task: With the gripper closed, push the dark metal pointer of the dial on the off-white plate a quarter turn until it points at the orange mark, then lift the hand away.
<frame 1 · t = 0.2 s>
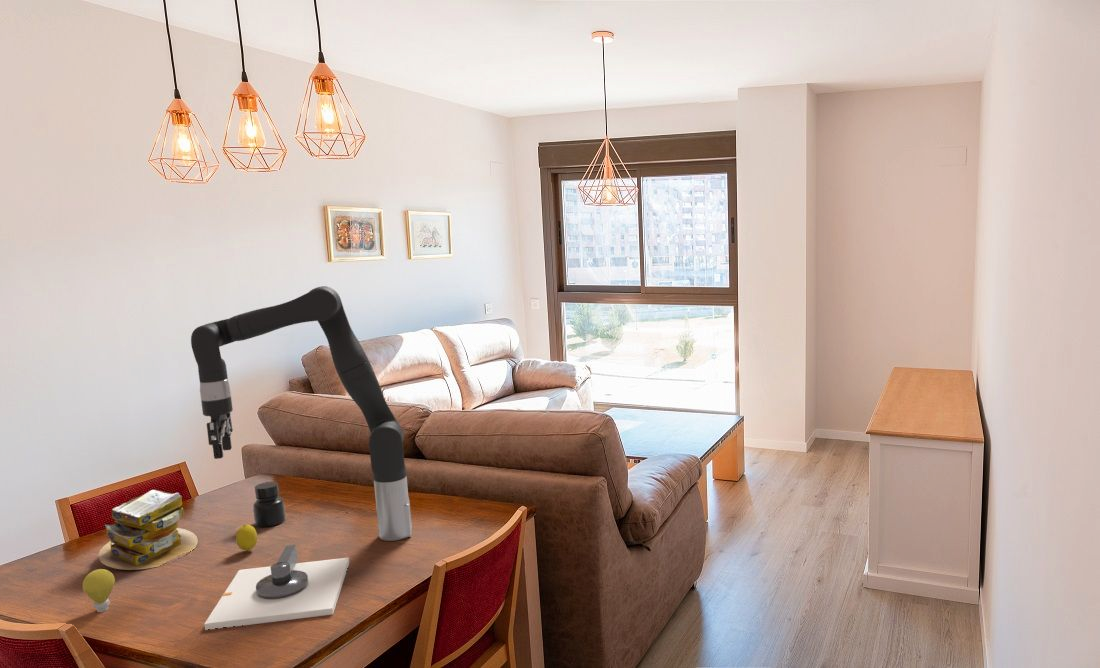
hand: (223, 453, 205), 29 cm above the table, tool pointing down, fingers open, 8 cm apart
light bulb: (102, 610, 179), on the table
dial plate: (283, 593, 182), on the table
stack of boxes: (150, 554, 212), on the table
dial: (284, 570, 184), point 4 cm above the table, hinge at 0.0°
ink bottle: (270, 522, 231), on the table
lemon: (248, 552, 209), on the table
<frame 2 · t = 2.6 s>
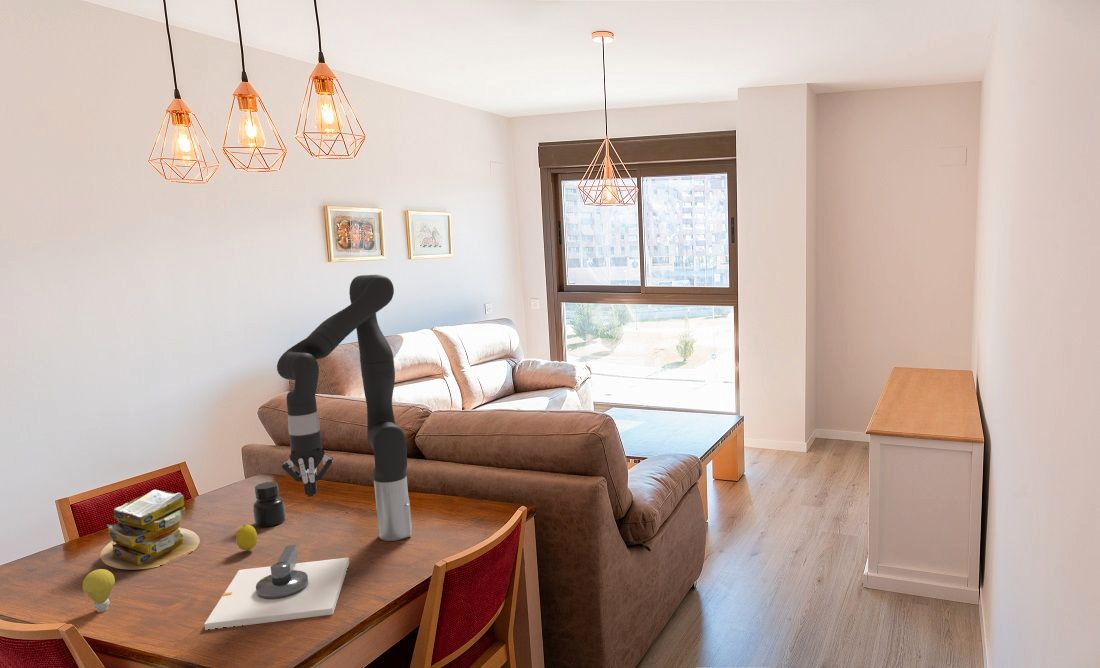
hand: (311, 495, 190), 21 cm above the table, tool pointing down, fingers closed
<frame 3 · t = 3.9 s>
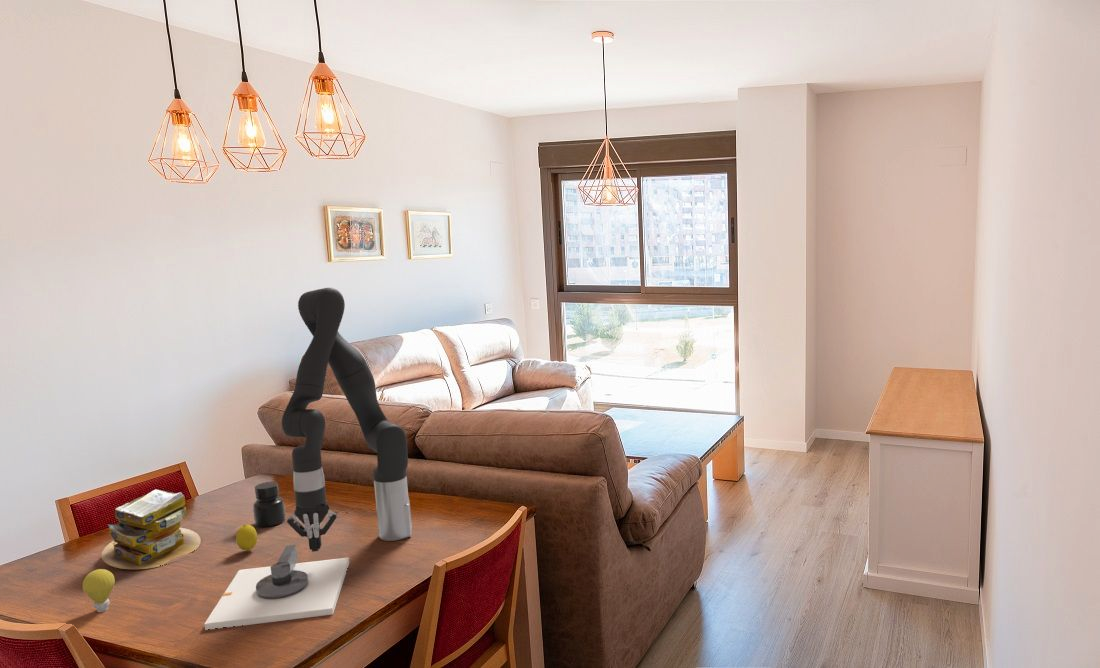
hand: (315, 550, 192), 6 cm above the table, tool pointing down, fingers closed
nothing on the table moved.
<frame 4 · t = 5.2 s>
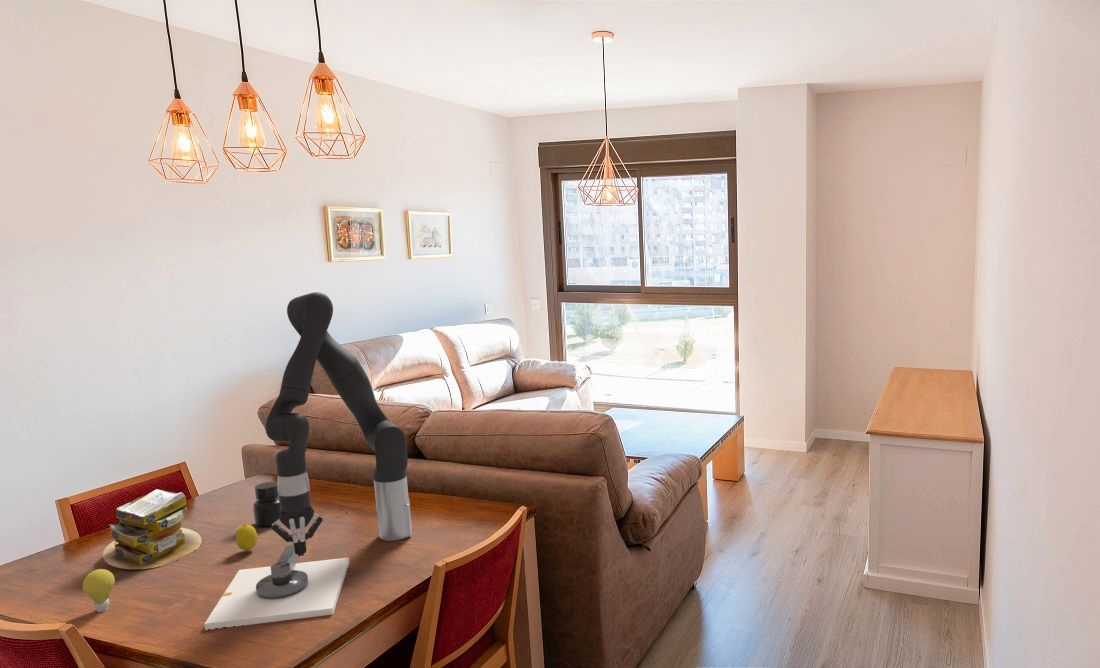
hand: (300, 554, 190), 6 cm above the table, tool pointing down, fingers closed
dial: (284, 570, 184), point 4 cm above the table, hinge at 0.0°, touching gripper
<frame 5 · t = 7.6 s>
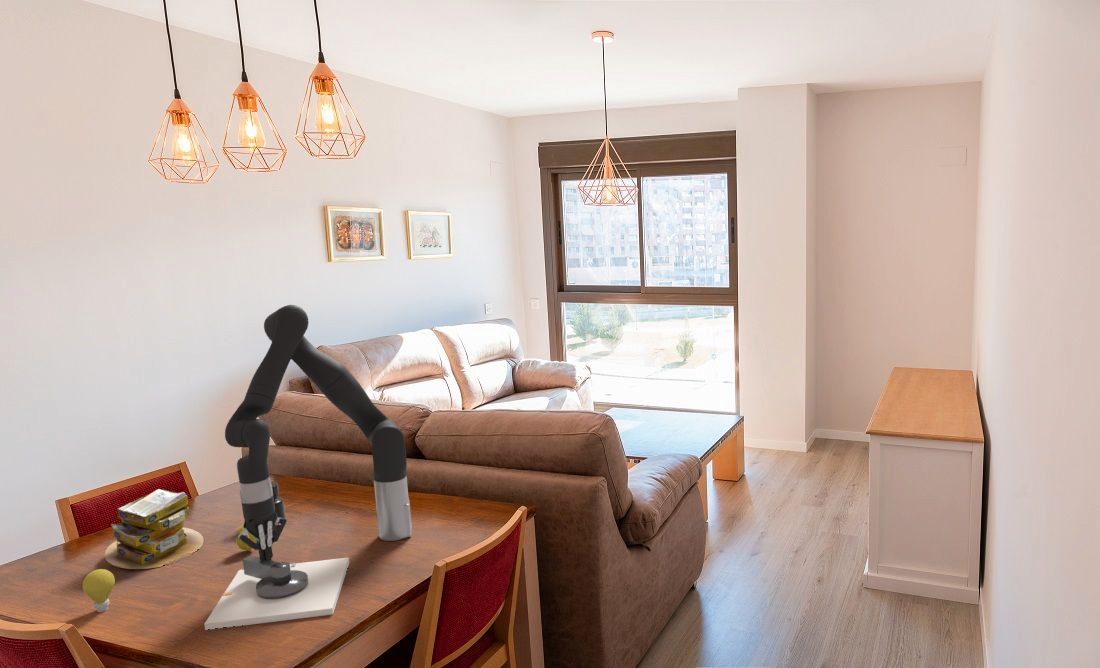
hand: (266, 560, 188), 6 cm above the table, tool pointing down, fingers closed
dial: (272, 574, 183), point 4 cm above the table, hinge at 52.0°, touching gripper
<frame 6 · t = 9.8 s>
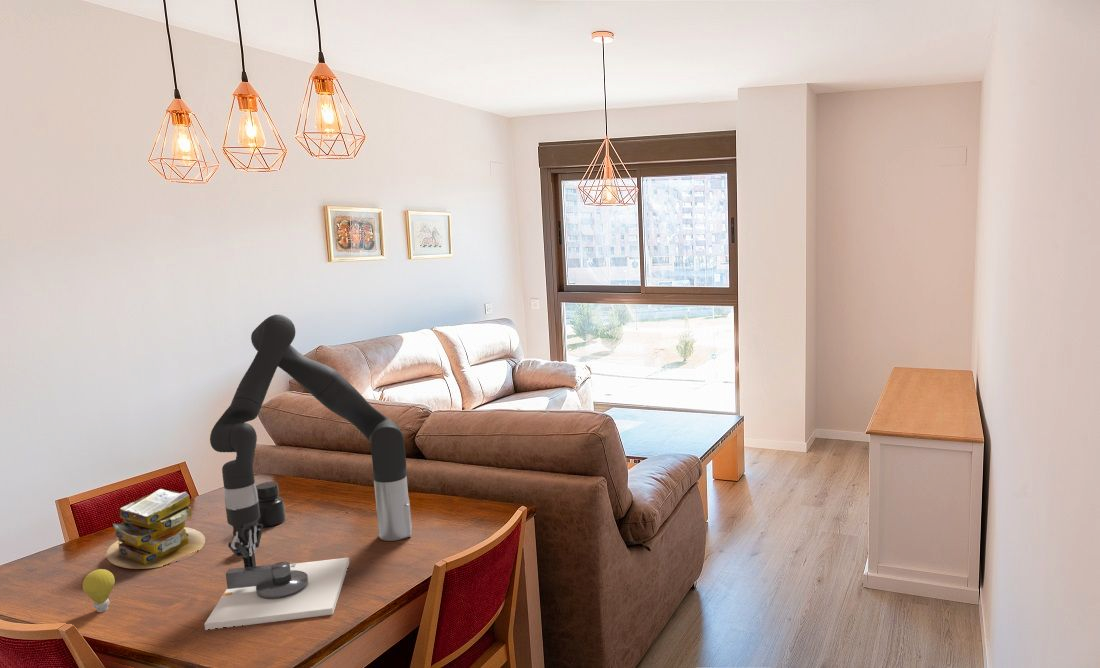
hand: (250, 568, 185), 5 cm above the table, tool pointing down, fingers closed
dial: (267, 577, 181), point 4 cm above the table, hinge at 88.4°
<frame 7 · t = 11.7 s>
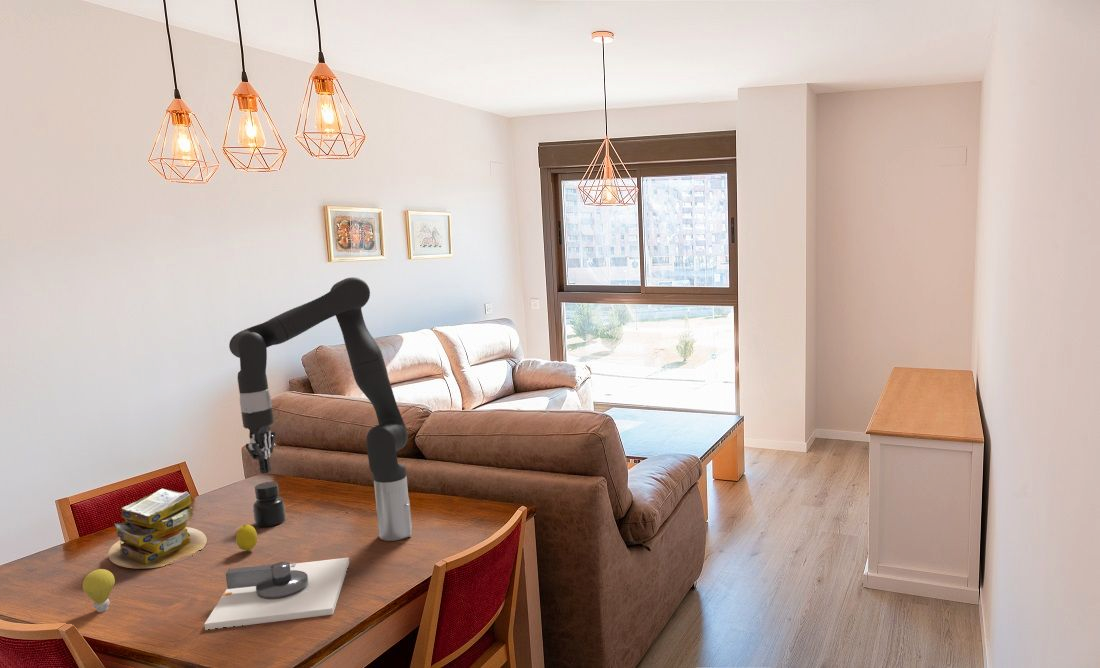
hand: (265, 472, 194), 26 cm above the table, tool pointing down, fingers closed
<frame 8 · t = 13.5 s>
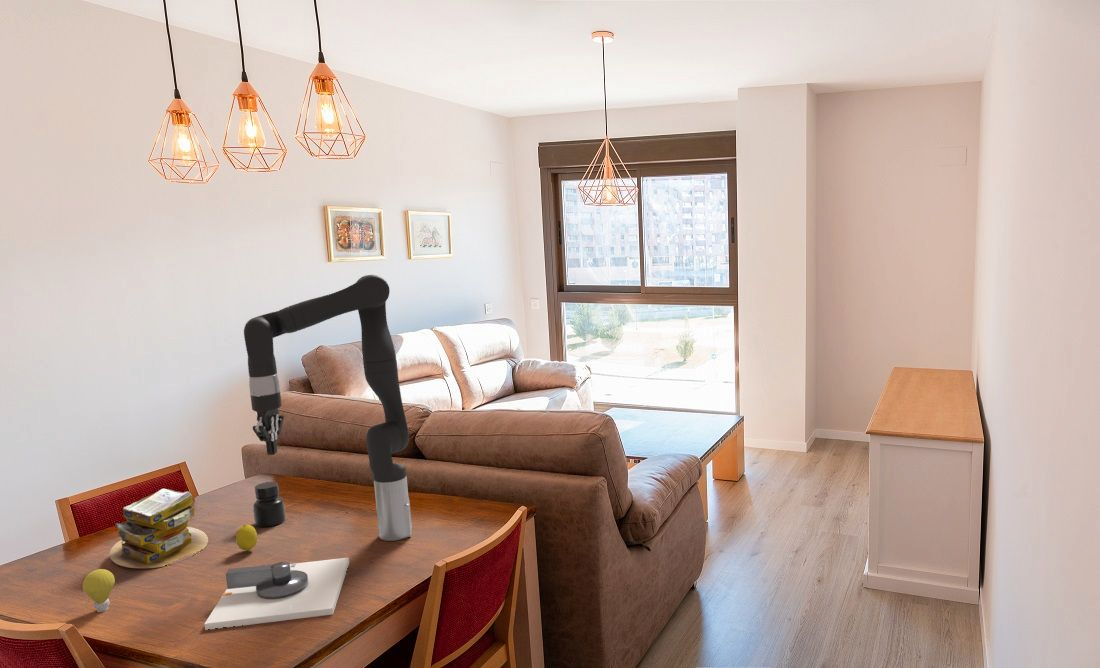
hand: (272, 454, 201), 29 cm above the table, tool pointing down, fingers closed
at the end: dial at +88° (first picture: +0°) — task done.
